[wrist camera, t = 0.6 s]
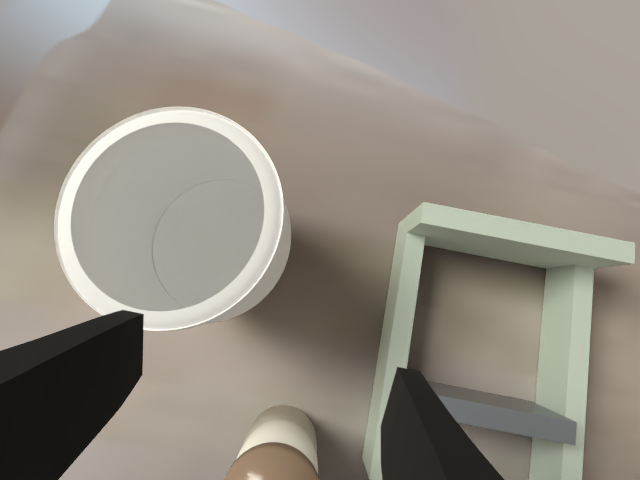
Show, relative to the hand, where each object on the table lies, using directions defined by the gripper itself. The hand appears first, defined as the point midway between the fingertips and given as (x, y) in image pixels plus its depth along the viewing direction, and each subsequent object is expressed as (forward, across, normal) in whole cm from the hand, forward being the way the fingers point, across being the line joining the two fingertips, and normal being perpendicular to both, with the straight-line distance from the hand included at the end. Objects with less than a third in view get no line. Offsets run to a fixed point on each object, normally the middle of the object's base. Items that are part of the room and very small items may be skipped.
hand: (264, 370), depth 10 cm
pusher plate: (+17, -14, +12) cm, 25 cm away
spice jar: (+14, 0, +18) cm, 22 cm away
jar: (+20, +7, +5) cm, 22 cm away
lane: (+19, -14, +10) cm, 25 cm away
